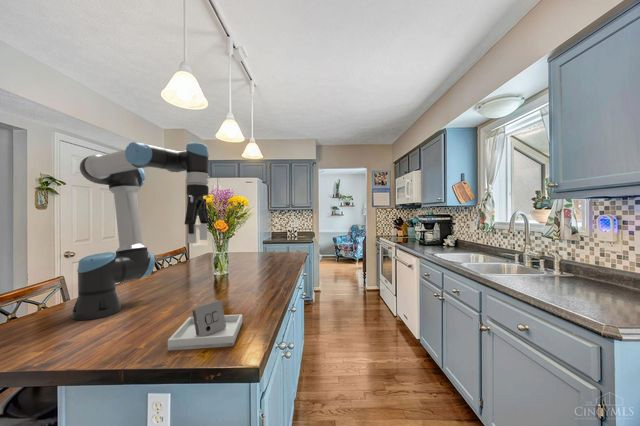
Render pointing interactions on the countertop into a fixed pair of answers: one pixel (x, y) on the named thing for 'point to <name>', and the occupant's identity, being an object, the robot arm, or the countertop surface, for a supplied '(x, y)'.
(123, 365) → the countertop surface
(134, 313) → the countertop surface
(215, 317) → the electrical switch
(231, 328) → the white square tray
